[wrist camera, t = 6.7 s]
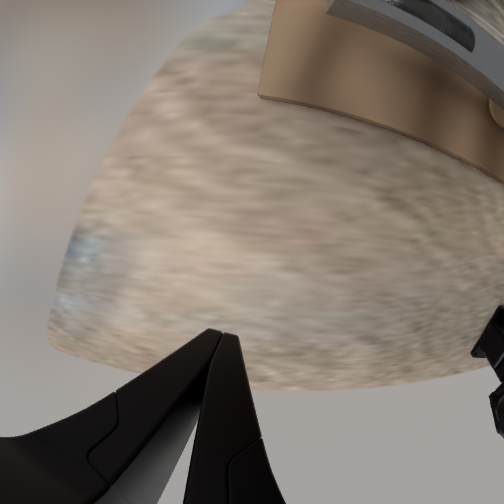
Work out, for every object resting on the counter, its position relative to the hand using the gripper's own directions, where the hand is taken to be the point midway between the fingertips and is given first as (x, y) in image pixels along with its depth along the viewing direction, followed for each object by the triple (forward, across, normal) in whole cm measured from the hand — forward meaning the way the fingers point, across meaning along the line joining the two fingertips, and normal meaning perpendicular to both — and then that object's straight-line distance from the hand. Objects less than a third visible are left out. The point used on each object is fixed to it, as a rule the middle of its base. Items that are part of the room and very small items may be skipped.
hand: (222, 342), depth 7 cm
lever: (+7, -10, -13) cm, 18 cm away
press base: (+13, -10, -13) cm, 21 cm away
